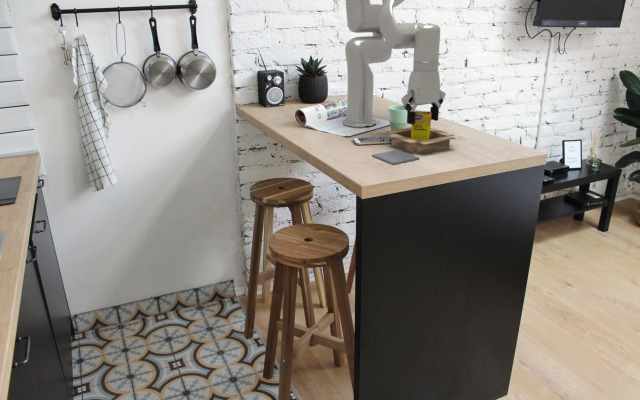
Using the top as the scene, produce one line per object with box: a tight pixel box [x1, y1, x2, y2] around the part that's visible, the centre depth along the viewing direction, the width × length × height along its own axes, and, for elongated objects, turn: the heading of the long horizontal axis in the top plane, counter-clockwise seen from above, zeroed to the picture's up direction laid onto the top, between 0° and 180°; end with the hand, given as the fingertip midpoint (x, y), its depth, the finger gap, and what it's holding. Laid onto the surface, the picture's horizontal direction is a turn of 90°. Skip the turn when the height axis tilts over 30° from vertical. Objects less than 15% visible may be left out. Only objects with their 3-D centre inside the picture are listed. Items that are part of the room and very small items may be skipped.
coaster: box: [371, 149, 420, 166], centre depth 157 cm, size 10×10×1 cm
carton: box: [386, 126, 457, 155], centre depth 168 cm, size 18×18×4 cm
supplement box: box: [411, 110, 432, 141], centre depth 167 cm, size 6×6×11 cm
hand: (422, 121), depth 166 cm, fingers open, 9 cm apart
